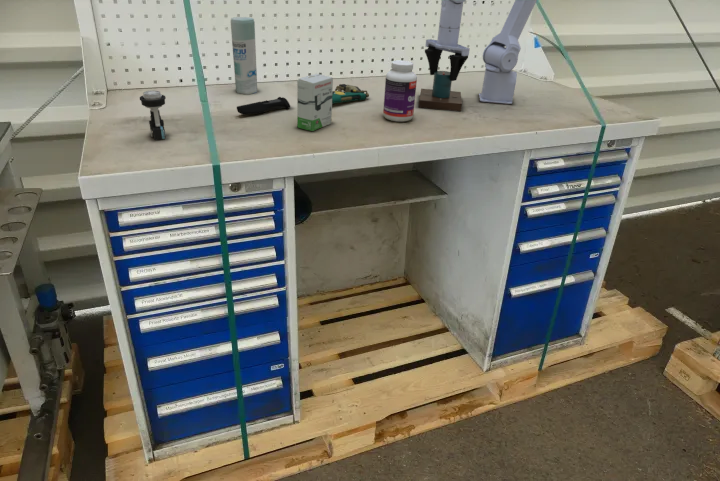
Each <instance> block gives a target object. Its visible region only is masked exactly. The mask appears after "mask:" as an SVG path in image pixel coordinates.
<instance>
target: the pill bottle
mask: <svg viewBox="0 0 720 481" xmlns="http://www.w3.org/2000/svg"><path fill="white" fill-rule="evenodd" d="M390 68H391V70H388V72H386V74H385V80H384V83H385V84H384V98H383V109H382V115H383V117H384V118H385V119H386V120H388V121H392V122H397V123H399V122H400V123H401V122H408V121H411V120H412V119H413V117H414V114H415V112H414V111H415V102H416V93H417V92H416V90H417V83H418V82H417V81H418V76H417V74H416V73H415V72H414V71H413V69H414V62H413V61H409V60H401V59H400V60H397V59H396V60H392V61H391V66H390Z"/></svg>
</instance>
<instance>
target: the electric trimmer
mask: <svg viewBox="0 0 720 481" xmlns="http://www.w3.org/2000/svg"><path fill="white" fill-rule="evenodd" d="M279 109H280V110H281V109H286V110H289V109H291V105H290V102H289V101H288V99H287V98H286V97H283V96H282V97H281V96H278V97H277V98H274V99H269V100H262V101H256V102H251V103H248V104H243V105H238V106H236V111H237V112H238V113H239V114H240V115H242V116H243V115H244V116H245V115H254V114H255V115H256V114H264V113H265V112H269V111H274V110H279Z"/></svg>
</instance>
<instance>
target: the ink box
mask: <svg viewBox="0 0 720 481" xmlns="http://www.w3.org/2000/svg"><path fill="white" fill-rule="evenodd" d="M296 85H297V86H296V87H297V90H296V91H297V93H296V94H297V102H296V103H297V104H296V105H297V115H296V116H297V119H296V120H297V123H296V124H297V128H298V129H302V130H306V131H310V132H314V131H317V130H319V129H321V128H324V127H326V126H328V125H330V124H331V125H332V117H333V113H332V112H333V104H332V91H333V89H334V88H333V87H334V86H333V85H334V77H333V76H330V75H329V76H328V75H325V74H321V73H314V74H309V75H306V76H302V77H299V78H297V84H296Z"/></svg>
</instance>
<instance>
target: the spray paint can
mask: <svg viewBox="0 0 720 481" xmlns="http://www.w3.org/2000/svg"><path fill="white" fill-rule="evenodd" d="M230 34H231V46H232V57H233V58H232V59H233V71H234V81H235V83H234V84H235V91H236V93H238V94H242V95H253V94H256V93H258V74H257V72H258V70H257V69H258V68H257V50H256V49H257V48H256V24H255V19H254V18H253V17H247V16H234V17H231V18H230Z"/></svg>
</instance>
